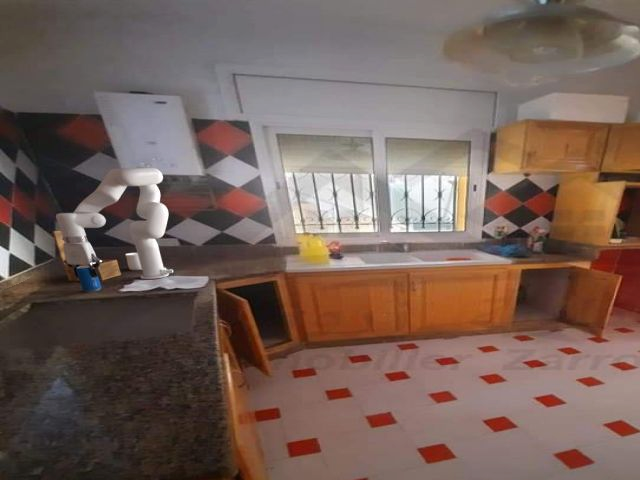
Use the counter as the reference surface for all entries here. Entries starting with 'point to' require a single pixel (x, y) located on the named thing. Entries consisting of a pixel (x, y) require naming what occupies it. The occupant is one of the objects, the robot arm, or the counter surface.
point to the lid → (59, 244)
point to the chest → (105, 270)
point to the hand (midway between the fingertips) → (88, 276)
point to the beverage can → (87, 279)
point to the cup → (133, 261)
